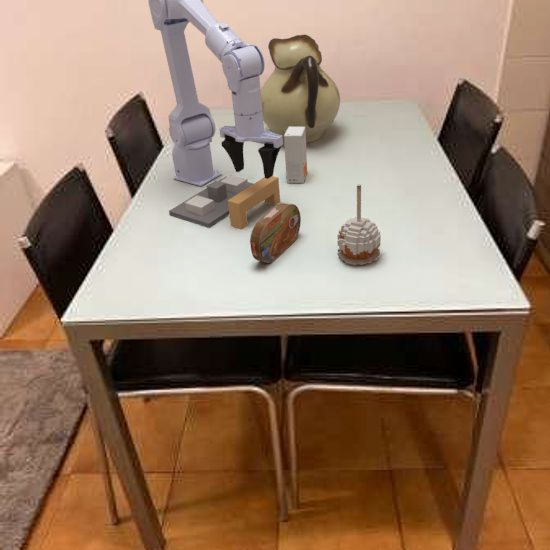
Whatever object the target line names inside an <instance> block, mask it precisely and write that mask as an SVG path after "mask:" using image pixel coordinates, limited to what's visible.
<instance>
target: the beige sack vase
mask: <svg viewBox="0 0 550 550" xmlns="http://www.w3.org/2000/svg"><path fill="white" fill-rule="evenodd" d="M267 46H268V50H269V55H270V59H271V61H272V63H273V65H274V69H273V72H272V73H271V74H270V75H269V76H268V78H267V79H266V80H265V81H264V83H263V85H262V86H261V87H260V90H261V101H262V113H263V123H264V124H265V125H266V126H267V127H268V128H269V129H270V131H271V132H273V133H275V134H278V135H282V136H283V143H284V135H285V133H286V130H287V129H288V127H305V131H306V144H308V143H312V142H314V141H317V140H319V139H320V138H322V137H323V133H324V132H325V130H327V129H328V128H329V127H330V126H331V124H332V123H333V122H334V121H335V119H336V117H337V116H338V114H339V109H340V105H341V96H340V91H339V88H338V86H337V85H336V82H335V81H334V80H333V79H332V78H331V77H330V76H329V74H327V73H326V71H324V70H323V68H322V67H321V64H322V61H323V58H322V52H321V51H320V50H319V44H318V43H316V40H315V39H314V38H313V37H311V36H310V35H308V34H300V35H299V34H296V35H294V36H292V37H289V38H279V37H278V38H277V37H276V38H275V37H274V38H272V39H270V41H269V42H268V45H267Z"/></svg>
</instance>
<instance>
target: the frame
mask: <svg viewBox="0 0 550 550" xmlns="http://www.w3.org/2000/svg"><path fill="white" fill-rule="evenodd" d="M280 193H281V192H280V181H279V177H278V176H275V175H273V176H271V177H270V178H269V179H266V178H265V176H264V177H262V178H261V179H259V180H257V181H256V182H254V184H253V185H251V186H250V187H248V188H246V189H245V190H243V191H242V192H240V193H239V194H237V195H236V196H234V197H233V198H231V199H229V200H228V207H229V215H228V216H229V222H230V226H231V227H234V228H237V229H240V230H243V229H244V228H245V227H247V226H248V216H247V213H248V212H250V211H251V210H252V209H254V208H255V207H257V206H258V205H260V204H261V203H262V202H264V203H265V204H269V205H273V206H277V205H279V204H280V202H281V195H280Z"/></svg>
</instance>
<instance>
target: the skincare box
mask: <svg viewBox="0 0 550 550" xmlns="http://www.w3.org/2000/svg"><path fill="white" fill-rule="evenodd" d="M283 145H284V159H285V161H284V162H285V176H286V183H287V184H304V182H305V179H306V177H307V174H308V160H307V158H308V157H307V143H306V131H305V127H288V129H287V130H286V133H285V135H284V142H283Z"/></svg>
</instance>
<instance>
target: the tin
mask: <svg viewBox="0 0 550 550" xmlns="http://www.w3.org/2000/svg"><path fill="white" fill-rule="evenodd" d="M301 221H302V220H301V211H300V210H299V207H298V206H297V205H296V204H295V203H294V204H293V203H285V202H284V203H283V202H282V203H278V204H276V205H275V207H273V208H272V209H271V210H270V211H269V212H268V213H267V214H265V215H264V216H263V217H262V218H261V219H260V220H259V221H257V223H256V224H255V225H254V226H253V228H252V231H251V233H250V237H249V245H250V251H251V254H252V257H253V258H254V259H255V260H256V261H259V262H264V263H265V264H271V263H273V262H275V261H276V260H277V259H278V258H279V257H280V256H281V255H282V254H284V252H285V251H286V250H287V249H288V248H289V247H291V245H292V244H294V242H295V241H296V240H297V239H298V238H297V237H298V235H299V234H300V229H301Z"/></svg>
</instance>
